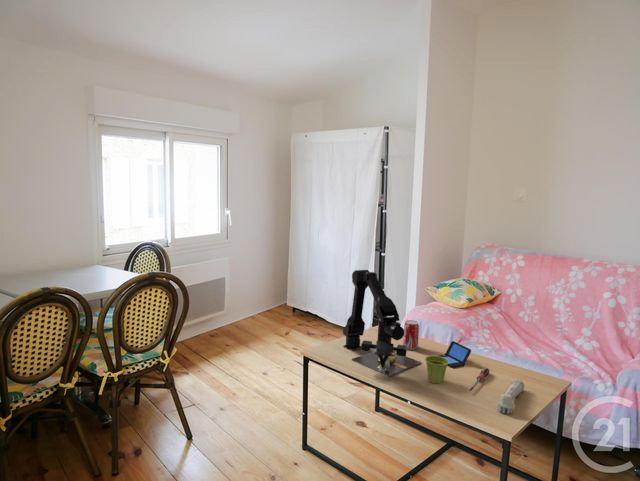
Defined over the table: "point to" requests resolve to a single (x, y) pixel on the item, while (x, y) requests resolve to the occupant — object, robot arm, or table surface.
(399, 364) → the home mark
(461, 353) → the handheld game console
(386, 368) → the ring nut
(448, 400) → the table surface
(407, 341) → the soda can
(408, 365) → the plate
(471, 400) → the table surface
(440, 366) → the plant pot
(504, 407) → the light grey elongated piece
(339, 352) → the table surface
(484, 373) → the screwdriver
